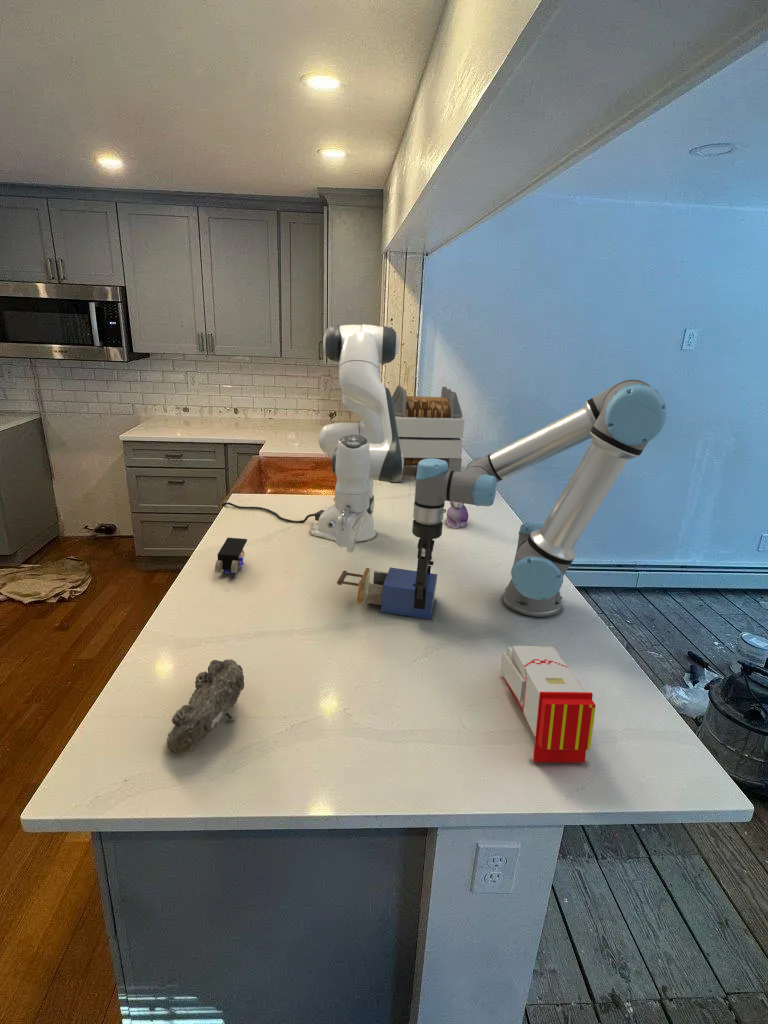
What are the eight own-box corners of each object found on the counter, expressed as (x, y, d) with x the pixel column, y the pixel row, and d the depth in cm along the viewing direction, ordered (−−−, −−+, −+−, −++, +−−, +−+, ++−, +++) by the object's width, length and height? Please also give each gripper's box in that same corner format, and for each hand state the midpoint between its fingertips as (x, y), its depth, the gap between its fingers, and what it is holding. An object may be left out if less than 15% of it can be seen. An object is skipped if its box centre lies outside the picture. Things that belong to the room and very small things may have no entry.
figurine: (453, 530, 205) (457, 490, 200) (438, 521, 213) (441, 482, 208) (475, 527, 209) (479, 488, 204) (459, 517, 217) (462, 480, 212)
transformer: (382, 463, 289) (386, 382, 275) (445, 464, 293) (451, 384, 279) (390, 482, 257) (394, 392, 243) (460, 483, 261) (468, 394, 247)
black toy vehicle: (238, 584, 162) (249, 557, 175) (236, 562, 158) (247, 536, 172) (215, 584, 161) (227, 556, 175) (212, 561, 158) (225, 535, 171)
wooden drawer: (334, 600, 149) (335, 580, 147) (343, 583, 158) (344, 564, 156) (402, 610, 147) (404, 590, 145) (407, 593, 156) (409, 574, 154)
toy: (549, 628, 125) (605, 700, 96) (544, 683, 128) (596, 770, 99) (495, 627, 125) (534, 699, 95) (491, 683, 128) (527, 769, 98)
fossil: (192, 660, 117) (244, 628, 112) (224, 691, 120) (276, 661, 115) (142, 746, 98) (202, 712, 93) (182, 779, 101) (242, 748, 96)
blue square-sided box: (380, 611, 147) (383, 585, 145) (387, 592, 158) (389, 567, 155) (430, 619, 146) (433, 592, 143) (434, 599, 156) (437, 574, 153)
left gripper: (355, 514, 134) (354, 567, 139) (371, 489, 153) (370, 537, 158) (329, 512, 135) (329, 565, 140) (349, 487, 154) (348, 534, 159)
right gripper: (439, 539, 131) (431, 621, 139) (446, 506, 153) (439, 579, 160) (407, 535, 132) (401, 617, 140) (418, 503, 154) (413, 576, 162)
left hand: (350, 550), depth 149 cm, fingers closed
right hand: (421, 597), depth 150 cm, fingers closed on blue square-sided box, 11 cm apart
